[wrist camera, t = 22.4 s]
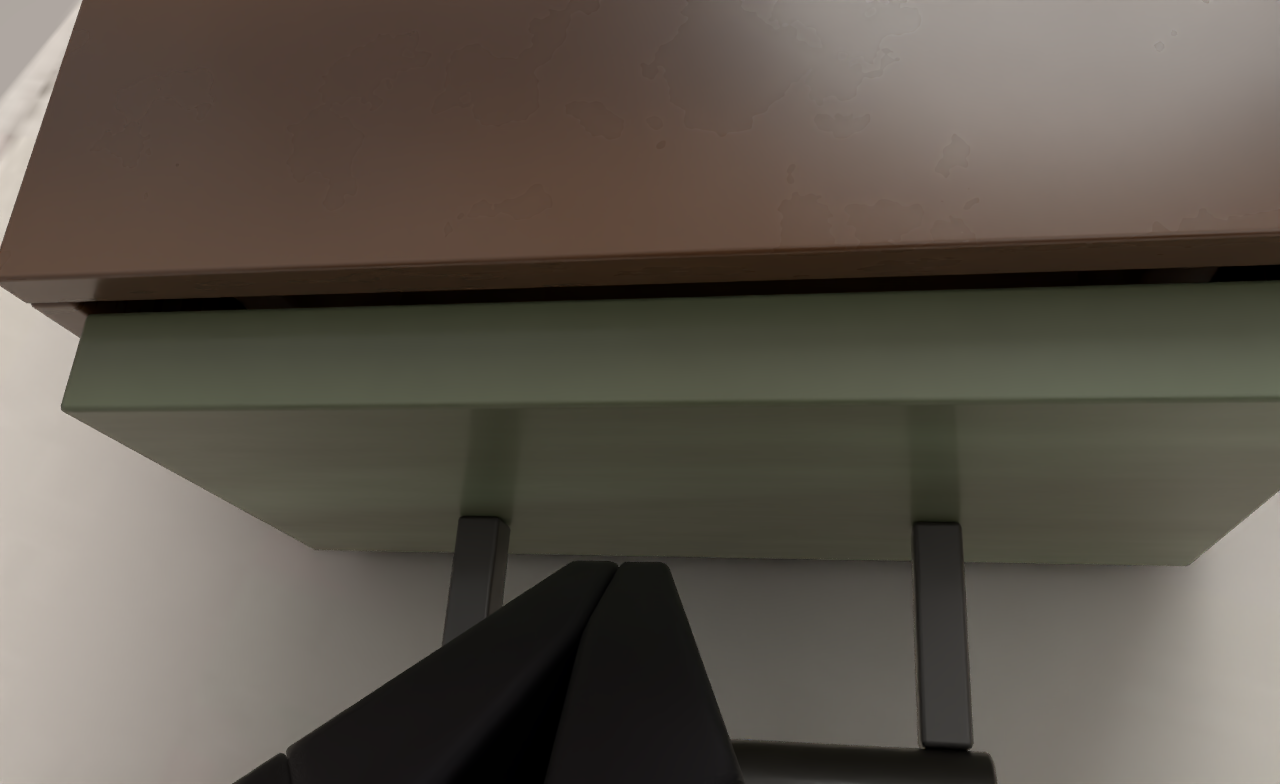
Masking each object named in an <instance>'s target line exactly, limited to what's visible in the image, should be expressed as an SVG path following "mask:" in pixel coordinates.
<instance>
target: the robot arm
mask: <svg viewBox="0 0 1280 784" xmlns="http://www.w3.org/2000/svg"><path fill="white" fill-rule="evenodd" d="M286 755H287V757H286ZM286 755H285V754H283V753H279V754H277V755H275V756H274V757H272V758H271V759H269V760H268V761H266V762H265V763H263V764H262V765H260V766H259V767H257V768H256V769H254V770H253V771H251V772H250V773H248V774H247V775H245V776H243V777H242V778H240V779H239V780H237V781H236V782H234V783H232V784H746V783H745V782H744V777H743V774H742V771H741V769H740V766H739V763H738V760H737V757H736V755H735V752H734V749H733V746H732V743H731V740H730V738H729V735H728V732H727V729H726V726H725V724H724V721H723V718H722V715H721V712H720V709H719V707H718V704H717V701H716V698H715V695H714V693H713V690H712V687H711V684H710V681H709V679H708V676H707V673H706V670H705V667H704V664H703V662H702V659H701V656H700V653H699V650H698V648H697V645H696V642H695V639H694V636H693V634H692V631H691V628H690V625H689V622H688V619H687V617H686V614H685V611H684V608H683V605H682V603H681V600H680V597H679V594H678V591H677V589H676V586H675V583H674V580H673V577H672V574H671V572H670V569H669V567H668V566H667V565H666V564H665V563H662V562H624V563H623V564H621V565H620V566H618V565H617V564H616V563H614V562H610V561H573V562H571V563H569V564H567V565H566V566H564V567H563V568H561V569H560V570H558V571H557V572H555V573H554V574H552V575H550V576H549V577H547V578H546V579H544V580H543V581H541V582H540V583H538V584H537V585H535V586H534V587H532V588H531V589H529V590H528V591H526V592H525V593H523V594H522V595H520V596H518V597H517V598H515V599H514V600H512V601H511V602H509V603H508V604H506V605H505V606H503V607H502V608H500V609H499V610H497V611H496V612H494V613H493V614H491V615H489V616H488V617H486V618H485V619H483V620H482V621H480V622H479V623H477V624H476V625H474V626H473V627H471V628H470V629H468V630H467V631H465V632H464V633H462V634H461V635H459V636H457V637H456V638H454V639H453V640H451V641H450V642H448V643H447V644H445V645H444V646H442V647H441V648H439V649H438V650H436V651H435V652H433V653H432V654H430V655H428V656H427V657H425V658H424V659H422V660H421V661H419V662H418V663H416V664H415V665H413V666H412V667H410V668H409V669H407V670H406V671H404V672H403V673H401V674H400V675H398V676H396V677H395V678H393V679H392V680H390V681H389V682H387V683H386V684H384V685H383V686H381V687H380V688H378V689H377V690H375V691H374V692H372V693H370V694H369V695H367V696H366V697H364V698H363V699H361V700H360V701H358V702H357V703H355V704H354V705H352V706H351V707H349V708H348V709H346V710H344V711H343V712H341V713H340V714H338V715H337V716H335V717H334V718H332V719H331V720H329V721H328V722H326V723H325V724H323V725H322V726H320V727H319V728H317V729H315V730H314V731H312V732H311V733H309V734H308V735H306V736H305V737H303V738H302V739H300V740H299V741H297V742H296V743H294V744H293V745H291V746H290V747H289V748H288V749H287V751H286Z"/></svg>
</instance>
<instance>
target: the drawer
mask: <svg viewBox="0 0 1280 784" xmlns="http://www.w3.org/2000/svg"><path fill="white" fill-rule="evenodd" d="M1221 268H1222V267H1190V268H1158V269H1126V270H1093V271H1061V272H1028V273H996V274H964V275H931V276H899V277H866V278H834V279H802V280H769V281H737V282H704V283H672V284H640V285H607V286H575V287H542V288H510V289H478V290H445V291H413V292H380V293H348V294H316V295H283V296H251V297H234V298H235V299H236V300H237V301H239V302H240V303H241V304H242V305H243V306H244V307H245V308H246V309H248V310H214V311H179V312H144V313H109V314H90V315H88V316H87V318H86V321H85V324H84V327H83V331H82V334H81V338H80V341H79V345H78V348H77V352H76V355H75V359H74V362H73V366H72V369H71V372H70V376H69V379H68V383H67V386H66V390H65V393H64V397H63V400H62V404H61V410H62V411H63V412H65V413H67V414H68V415H70V416H72V417H74V418H76V419H78V420H79V421H81V422H83V423H85V424H87V425H88V426H90V427H92V428H94V429H96V430H98V431H99V432H101V433H103V434H105V435H107V436H108V437H110V438H112V439H114V440H116V441H118V442H119V443H121V444H123V445H125V446H127V447H128V448H130V449H132V450H134V451H136V452H138V453H139V454H141V455H143V456H145V457H147V458H149V459H150V460H152V461H154V462H156V463H158V464H159V465H161V466H163V467H165V468H167V469H169V470H170V471H172V472H174V473H176V474H178V475H179V476H181V477H183V478H185V479H187V480H189V481H190V482H192V483H194V484H196V485H198V486H200V487H201V488H203V489H205V490H207V491H209V492H210V493H212V494H214V495H216V496H218V497H220V498H221V499H223V500H225V501H227V502H229V503H230V504H232V505H234V506H236V507H238V508H240V509H241V510H243V511H245V512H247V513H249V514H251V515H252V516H254V517H256V518H258V519H260V520H261V521H263V522H265V523H267V524H269V525H271V526H272V527H274V528H276V529H278V530H280V531H281V532H283V533H285V534H287V535H289V536H291V537H292V538H294V539H296V540H298V541H300V542H302V543H303V544H305V545H307V546H309V547H311V548H312V549H314V550H340V551H394V552H449V553H454V557H453V565H452V572H451V580H450V587H449V595H448V603H447V610H446V618H445V625H444V633H443V641H442V646H444V645H445V644H447V643H448V642H450V641H451V640H453V639H454V638H456V637H457V636H459V635H461V634H462V633H464V632H465V631H467V630H468V629H470V628H471V627H473V626H474V625H476V624H477V623H479V622H480V621H482V620H483V619H485V618H486V617H488V616H489V615H491V614H493V613H494V612H496V611H497V610H499V609H500V608H502V603H503V594H504V585H505V576H506V567H507V558H508V554H558V555H612V556H667V557H721V558H776V559H830V560H885V561H912V589H913V618H914V648H915V677H916V706H917V735H918V745H919V747H920V748H901V747H881V746H861V745H842V744H822V743H802V742H783V741H763V740H743V739H730V740H731V743H732V746H733V749H734V752H735V755H736V757H737V760H738V763H739V766H740V769H741V771H742V774H743V777H744V782H745V783H746V784H998V782H997V776H996V770H995V766H994V762H993V760H992V757H991V755H990V754H989V753H987V752H980V751H968V750H970V749H971V748H972V746H973V743H974V740H973V722H972V703H971V684H970V665H969V646H968V628H967V609H966V590H965V571H964V562H994V563H1048V564H1103V565H1157V566H1187V565H1190V564H1191V563H1192V562H1194V561H1195V560H1196V559H1197V558H1198V557H1200V556H1201V555H1202V554H1203V553H1204V552H1206V551H1207V550H1208V549H1209V548H1210V547H1212V546H1213V545H1214V544H1215V543H1217V542H1218V541H1219V540H1220V539H1221V538H1223V537H1224V536H1225V535H1226V534H1227V533H1229V532H1230V531H1231V530H1232V529H1233V528H1235V527H1236V526H1237V525H1238V524H1239V523H1241V522H1242V521H1243V520H1244V519H1246V518H1247V517H1248V516H1249V515H1250V514H1252V513H1253V512H1254V511H1255V510H1256V509H1258V508H1259V507H1260V506H1261V505H1262V504H1264V503H1265V502H1266V501H1267V500H1268V499H1270V498H1271V497H1272V496H1273V495H1275V494H1276V493H1277V492H1278V491H1279V490H1280V280H1273V281H1238V282H1213V280H1214V279H1215V277H1216V276H1217V274H1218V273H1219V271H1220V269H1221Z"/></svg>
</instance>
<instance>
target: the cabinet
mask: <svg viewBox="0 0 1280 784" xmlns="http://www.w3.org/2000/svg"><path fill="white" fill-rule="evenodd" d="M1190 267H1222V268H1221V269H1220V271H1219V273H1218V274H1217V276H1216V277H1215V279H1214V280H1213V282H1238V281H1273V280H1280V0H83V1H82V4H81V7H80V10H79V13H78V16H77V19H76V22H75V25H74V28H73V31H72V34H71V37H70V40H69V43H68V46H67V49H66V52H65V55H64V58H63V61H62V64H61V67H60V70H59V73H58V76H57V79H56V82H55V85H54V88H53V91H52V94H51V97H50V100H49V103H48V106H47V109H46V112H45V115H44V118H43V121H42V124H41V127H40V130H39V133H38V136H37V139H36V142H35V145H34V148H33V151H32V154H31V157H30V160H29V163H28V166H27V169H26V172H25V175H24V178H23V181H22V184H21V187H20V190H19V193H18V196H17V199H16V202H15V205H14V208H13V211H12V214H11V217H10V220H9V223H8V226H7V229H6V232H5V235H4V238H3V241H2V244H1V247H0V286H1V287H2V288H4V289H5V290H7V291H8V292H10V293H12V294H13V295H15V296H16V297H18V298H19V299H21V300H22V301H24V302H26V303H31V305H32V307H34V308H35V309H37V310H38V311H40V312H41V313H43V314H44V315H46V316H47V317H49V318H50V319H52V320H53V321H55V322H56V323H58V324H59V325H61V326H62V327H64V328H65V329H67V330H69V331H70V332H72V333H73V334H75V335H76V336H78V337H79V338H81V334H82V331H83V327H84V324H85V321H86V318H87V316H88V315H90V314H109V313H144V312H179V311H214V310H248V309H246V308H245V307H244V306H243V305H242V304H241V303H240V302H239V301H237V300H236V299H235V298H234V297H251V296H283V295H316V294H348V293H380V292H413V291H445V290H478V289H510V288H542V287H575V286H607V285H640V284H672V283H704V282H737V281H769V280H802V279H834V278H866V277H899V276H931V275H964V274H996V273H1028V272H1061V271H1093V270H1126V269H1158V268H1190Z"/></svg>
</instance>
